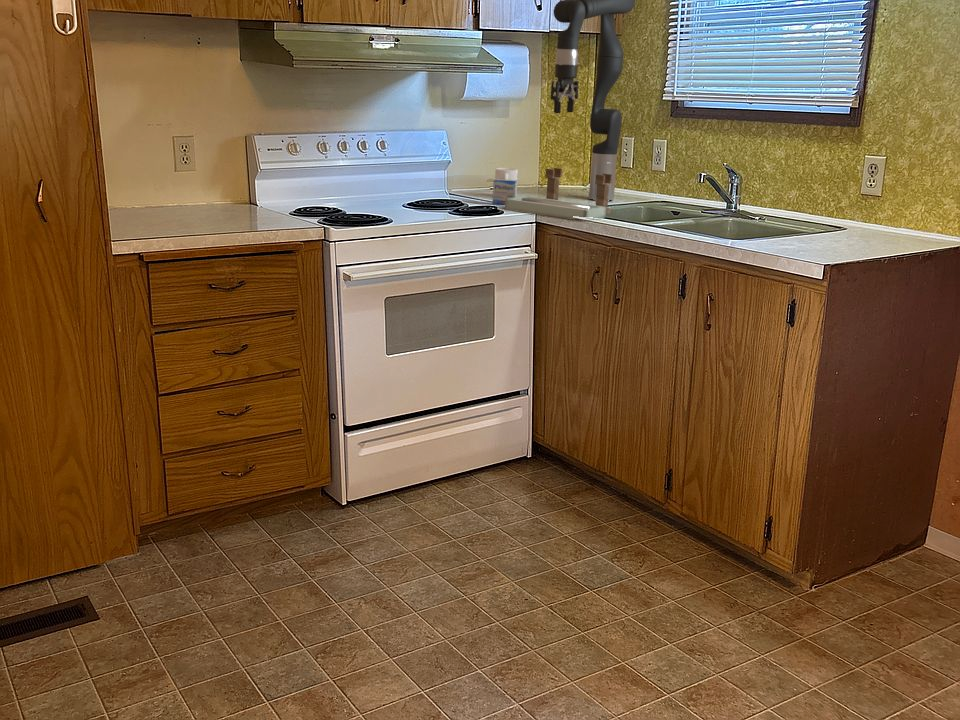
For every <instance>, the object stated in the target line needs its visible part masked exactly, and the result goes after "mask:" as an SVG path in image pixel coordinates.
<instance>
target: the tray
mask: <svg viewBox="0 0 960 720" xmlns="http://www.w3.org/2000/svg"><path fill="white" fill-rule="evenodd" d="M522 198H531V199H539V200H546V201H553V202H560V203H567V204H575V205H582V206H589V207H591V209H587V210H584V209H577V208H570V207H563V206H556V205H549V204H541V203H534V202H527V201H521V200H522ZM504 210H508V211H514V212H521V213H528V214H533V215H541V216H546V217H547V216H548V217H555V218H562V219H568V220H570V219H569V217H573V216H579V217H593V218H600V219H605V218H606V217H607V216H606V215H607V214H606V207H604V206H596V204H588V203H587V204H586V203H581V202H574V201H566V200H559V199H558V200H553V199H546V198H544V197H537V196H531V195H523V196H516V197H515V198H508V199H505V205H504Z"/></svg>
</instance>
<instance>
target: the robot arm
mask: <svg viewBox="0 0 960 720" xmlns="http://www.w3.org/2000/svg"><path fill="white" fill-rule="evenodd" d="M635 4H636V0H559V1H558V2H557V3H555V6H554V9H553V15H554V18H555V20H556V21H557V22H559V23H563V24H564V23H565V24H566V23H567V24H568V23H569V24H568V27H567V28H566V29H562V30H560V31H559V32H557V33H558V34H557V44H556V54H555V61H554V62H555V65H554V67H555V68H554V77H555V78H556V79H557V80H556V81H554V80H552V81H551V87H550V88H551V89H550V100H553V102H554V103H553V104H554V106H553V107H554V108H553V113H554V114H561V112H562V111H561V109H562V99H563V97H565V96H566V99H567V101H566V102H567V103H566V112H567V113H573V112H574V106H575V101H576V100H578V99H579V84H580V83H579V81H578V80H574V79H577V77H578V66H579V65H578V64H579V53H578V51H579V50H578V49H579V39H580V33H581V30H582V26H583V24H584V21H585V20H587V19H591V18H594V17H599V16H600V22H599V23H600V25H599V26H600V30H599V31H600V32H599V42H598V44H599V45H598V52H597V53H598V54H597V62H596V77H595V86H594V95H593V100H592V105H591V106H592V107H591V112H590V117H589V119H590V120H589V128H590V130H591V133H593V134H595V135H605V136H606V139H604V141H602V142H599V143H596V144H594V145H593V146H592V149H591V150H592V152H591V164H590V165H591V166H590V175H589V176H590V177H589V178H590V179H589V188H588V189H589V192H588V199H589V200H590V199H593V200H592V201H596V194H597V184H595V180H596V175H603V174H612V183H611V184H609V183H607V184H609V195H608V200H613V201H614V199H615V188H616V187H615V186H616V177H617V176H616V175H617V174H616V169H617V158H618V157H617V156H618V149H619V145H620V137H621V130H622V123H623V122H622V121H623V117H622V113H621V111H620V110H618V109H614V108H605V105H606V100H607V97H608V95H609V93H610V91H611V90H612V89H613V87H614V85H615V84H616V83H617V81H618V79H619V78H620V76H621V74H622V72H623V66H624V63H623V62H624V50H623V46H622V44H621V42H620V39H619V38H618V35H617V32H616V29H615V15H624V14H627V13H630V12H632V10H633V9H634V7H635ZM613 198H614V199H613Z"/></svg>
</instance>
